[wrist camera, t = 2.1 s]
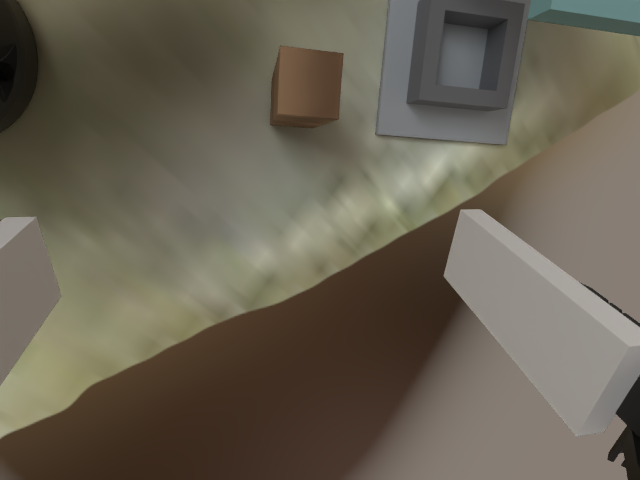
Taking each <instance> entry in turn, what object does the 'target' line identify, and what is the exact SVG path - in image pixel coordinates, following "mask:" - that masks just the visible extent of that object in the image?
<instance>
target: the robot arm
mask: <svg viewBox="0 0 640 480" xmlns="http://www.w3.org/2000/svg"><path fill="white" fill-rule="evenodd" d="M37 72H38V59H37V50H36V45H35V40H34V37H33V33H32V31H31V28H30V25H29V23H28V21H27V18H26V17H25V15H24V13H23V11H22V9H21V7H20V6H19V4H18V3H17V1H16V0H0V132H2V131H3V130H5V129H6V128H8V127H9V126H10V125H12V124H13V123H14V122H15V121H16V120H17V119H18V118H19V117H20V115H21V114H22V113H23V112H24V110H25V109H26V107H27V105H28V104H29V102H30V100H31V97H32V95H33V92H34V89H35V85H36V80H37ZM444 277H445V278H446V280H447V281H448V282H449V283H450V284H451V286H452V287H453V288H454V289H455V290H456V292H457V293H458V294H459V295H460V297H461V298H462V299H463V300H464V301H465V303H466V304H467V305H468V306H469V307H470V309H471V310H472V311H473V312H474V313H475V315H476V316H477V317H478V318H479V319H480V321H481V322H482V323H483V324H484V326H485V327H486V328H487V329H488V330H489V332H490V333H491V334H492V335H493V336H494V338H495V339H496V340H497V341H498V342H499V344H500V345H501V346H502V347H503V348H504V350H505V351H506V352H507V353H508V354H509V356H510V357H511V358H512V359H513V361H514V362H515V363H516V364H517V365H518V367H519V368H520V369H521V370H522V371H523V373H524V374H525V375H526V376H527V377H528V379H529V380H530V381H531V382H532V383H533V384H534V386H535V387H536V388H537V390H538V391H539V392H540V393H541V394H542V396H543V397H544V398H545V399H546V400H547V402H548V403H549V404H550V405H551V406H552V408H553V409H554V410H555V411H556V412H557V414H558V415H559V416H560V417H561V419H562V420H563V421H564V422H565V423H566V425H567V426H568V427H569V428H570V429H571V431H572V432H573V433H574V434H575V435H576V436H582V435H589V434H596V433H602V432H605V430H606V429H607V427H608V426H609V424H610V423H611V421H612V419H613V418H614V416H615V415H616V414H617V415H618V416H619V417H620V418H621V419H622V420H623V421H624V422H625V423H626V424H627V427H626V428H625V430H624V431H623V432H622V434H621V435H620V437H619V438H618V440H617V441H616V443H615V444H614V446H613V447H612V449H611V450H610V452H609V454H608V460H610V461H612V462H614V460H615V459H616V457H617V456H618V454H619V453H624V457H625V460H624V462H623V463H622V465H621V466H623V467H625V468H626V471H627V477H628V480H640V323H638V322H637V321H636V320H634V319H633V318H632V317H630V316H629V315H627V314H626V313H622V310H621V309H619V308H618V307H617V306H615V305H613V304H612V303H609V302H608V300H607V299H606V298H604V297H603V296H601V295H600V294H599V293H597V292H596V291H595V290H593V289H592V288H590V287H588V286H586V285H584V284H582V283H580V282H578V281H577V280H575V279H574V278H573V277H571V276H570V275H568V274H567V273H566V272H564V271H563V270H562V269H560V268H559V267H558V266H556V265H555V264H554V263H552V262H551V261H550V260H548V259H547V258H546V257H544V256H543V255H542V254H540V253H539V252H537V251H536V250H535V249H533V248H532V247H531V246H529V245H528V244H527V243H525V242H524V241H523V240H521V239H520V238H519V237H517V236H516V235H514V234H513V233H512V232H511V231H509V230H508V229H506V228H505V227H504V226H502V225H501V224H500V223H498V222H497V221H496V220H494V219H493V218H492V217H490V216H489V215H488V214H486V213H485V212H484V211H482V210H480V209H475V210H473V209H472V210H461V211H460V215H459V219H458V222H457V227H456V230H455V234H454V238H453V242H452V246H451V250H450V253H449V257H448V261H447V265H446V269H445V273H444ZM60 298H61V293H60V290H59V287H58V283H57V280H56V277H55V274H54V271H53V268H52V265H51V261H50V258H49V255H48V252H47V249H46V246H45V243H44V239H43V236H42V233H41V230H40V227H39V224H38V221H37V217H5V218H4V219H3V220H1V221H0V385H1V384H2V383H3V381H4V380H5V378H6V377H7V375H8V374H9V372H10V371H11V369H12V368H13V366H14V365H15V363H16V362H17V361H18V359H19V358H20V356H21V355H22V353H23V352H24V350H25V349H26V347H27V346H28V344H29V343H30V341H31V340H32V339H33V337H34V336H35V334H36V333H37V331H38V330H39V328H40V327H41V325H42V324H43V322H44V321H45V320H46V318H47V317H48V315H49V314H50V312H51V311H52V309H53V308H54V306H55V305H56V303H57V302H58V300H59V299H60Z"/></svg>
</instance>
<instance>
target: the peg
mask: <svg viewBox="0 0 640 480" xmlns="http://www.w3.org/2000/svg"><path fill="white" fill-rule="evenodd" d="M342 66H343V53H337V52H328V51H320V50H311V49H303V48H295V47H286V46H280V49H279V53H278V57H277V61H276V65H275V69H274V73H273V77H272V89H271V116H270V125H279V126H291V127H303V128H314V127H317V126H320V125H323V124H326V123H329V122H332V121H334V120H337V119H339V106H340V92H341V79H342Z"/></svg>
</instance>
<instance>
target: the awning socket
mask: <svg viewBox="0 0 640 480" xmlns="http://www.w3.org/2000/svg"><path fill="white" fill-rule="evenodd" d="M528 20H534V21H540V22H547V23H554V24H561V25H567V26H574V27H581V28H588V29H594V30H601V31H608V32H615V33H621V34H628V35H635V36H640V0H389V1H388V11H387V21H386V31H385V41H384V52H383V62H382V72H381V82H380V92H379V102H378V113H377V123H376V133H375V134H376V135H388V136H400V137H413V138H425V139H437V140H449V141H462V142H474V143H486V144H498V145H506V142H507V136H508V130H509V125H510V119H511V113H512V107H513V102H514V96H515V90H516V84H517V79H518V73H519V67H520V61H521V56H522V50H523V44H524V38H525V33H526V27H527V21H528Z"/></svg>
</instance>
